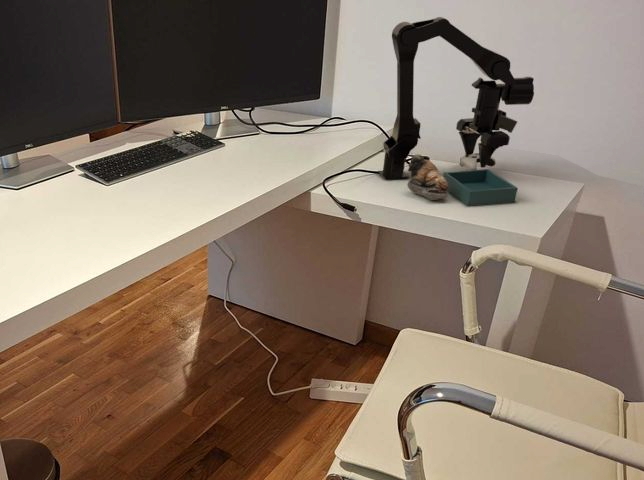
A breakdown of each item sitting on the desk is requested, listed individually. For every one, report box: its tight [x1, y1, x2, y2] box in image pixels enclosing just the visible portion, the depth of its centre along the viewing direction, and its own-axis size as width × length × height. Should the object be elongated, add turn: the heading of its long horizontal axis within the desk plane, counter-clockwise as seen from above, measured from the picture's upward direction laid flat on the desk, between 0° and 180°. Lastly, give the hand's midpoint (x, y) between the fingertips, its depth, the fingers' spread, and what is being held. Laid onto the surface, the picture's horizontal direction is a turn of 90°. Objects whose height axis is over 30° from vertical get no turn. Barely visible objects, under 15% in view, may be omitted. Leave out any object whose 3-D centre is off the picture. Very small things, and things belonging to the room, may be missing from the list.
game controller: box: [459, 152, 497, 171], centre depth 186 cm, size 10×5×6 cm
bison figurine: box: [407, 153, 449, 201], centre depth 172 cm, size 12×7×10 cm, turn 33°
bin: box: [442, 168, 519, 207], centre depth 174 cm, size 15×12×4 cm
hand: (475, 163), depth 186 cm, fingers closed on game controller, 8 cm apart
